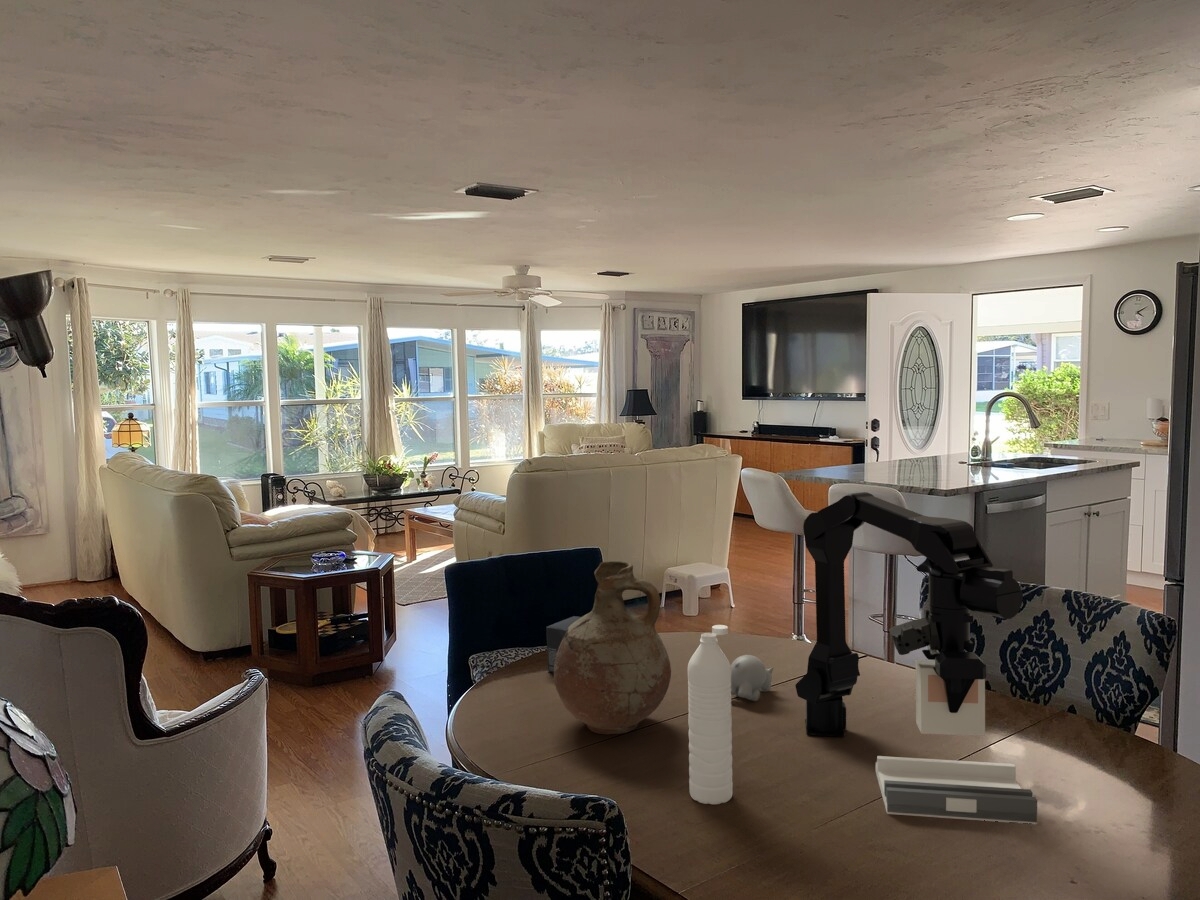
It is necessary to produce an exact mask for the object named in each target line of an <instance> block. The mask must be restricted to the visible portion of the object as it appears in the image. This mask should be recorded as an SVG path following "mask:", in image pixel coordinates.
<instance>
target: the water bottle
mask: <svg viewBox="0 0 1200 900" xmlns="http://www.w3.org/2000/svg"><path fill="white" fill-rule="evenodd" d="M724 635H729V627H728V626H727V625H724V624H715V625H712V626H711V632H704V633H703V632H702V633H701V636H700V639H699V641H700V644H699V646H698V647H697V648H696V650H695V652H694V653H693V654H692V656H691V657H690V659H689V661H688V664H687V680H688V681H687V686H688V687H687V691H688V693H687V696H688V699H687V700H688V702H687V706H688V710H687V711H688V714H687V715H688V717H687V718H688V719H687V720H688V721H687V722H688V728H689V729H688V740H689V742H688V751H689V754H688V763H689V766H688V775H689V779H688V783H689V784H688V785H689V795H690V797H691V799H693V800H694V801H697V802H698V803H700V804H704V805H708V804H709V805H720V804H725V803H727V802H728V801H730V800H731V799H732V797H733V785H734V784H733V766H732V765H733V755H732V752H733V744H732V740H733V733H732V732H733V731H732V727H733V721H732V720H733V719H732V695H731V665H732V664H731V663H730V660H729V659H728V657H727V656H726V654H725V653H724V651H723V650H722V649H721V647H720V646H719V644H718V641H719V640H718V638H717V637H718V636H724Z"/></svg>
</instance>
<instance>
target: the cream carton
mask: <svg viewBox="0 0 1200 900" xmlns="http://www.w3.org/2000/svg"><path fill="white" fill-rule="evenodd" d="M933 667H935V660H928V659H925V658H924V659H920V658H919V659H917V658H916V659H915V723H916V726H917V727H918V729H919V732H920V734H921V735H923V734H925V735H946V736H965V737H966V736H969V737H971V736H972V737H974V736H975V737H986V679H975V681H974V683H973V684H972V686H971V688H970V690H969V691H968V693H967V695H966V697H965V699H964V701H963V703H962V705H961V706H960V708H959V710H958V712H957V713H950V712H949V708H948V703H947V698H946V692H945V687H944V681H943V679H942V678H941V677H940V676H938V675H937V674H936V672H935V671H934V669H933Z"/></svg>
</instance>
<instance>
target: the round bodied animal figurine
mask: <svg viewBox="0 0 1200 900" xmlns="http://www.w3.org/2000/svg"><path fill="white" fill-rule="evenodd" d="M730 665H731V696H736V697H739V698H741V699H742V698H744V699H747V700H749V701H752V702H758V701H759V700H760V692H763V693H766V692H769V691H770V690H771V688H772V681H773V674H772V673H773V671H774V667H772V666H771V667H770V668H766V667H765V664H764V663H763V662H762V660H761V659H760V658H759V657H757V656H755V655H751V654H743V655H740V656H738V657H736V658H735V659H734V660H733V661H732V663H731V664H730Z"/></svg>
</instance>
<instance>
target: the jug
mask: <svg viewBox="0 0 1200 900" xmlns="http://www.w3.org/2000/svg"><path fill="white" fill-rule="evenodd" d="M593 573H594V577H595V581H596V583H597V588H596V592H595V594H594V603H593V607H592V609H591V611H590V612H587V613H586V614H584V615H582V616H580V617H581V618H580V619H578V620H577V621H575V622H574V623H573V624H571V625H570V626H569V627H568V628H567V631H566V634H565V636H564V638H563V640H562V642H561V644H560V646H559V649H558V652H557V655H556V659H555V664H554V673H553V679H554V680H553V681H554V687H555V690H556V692H557V694H558V696H559V698H560V701H561V702H562V704H563V705H564V707H565V708H566V710H567V711H568V712H569V713H570V715H572V716H573V717H574V718H575V719H576V720H579V721H580V722H581V723H583V724H585V725H586V727H587V728H588V729H589V731H591V732H594V733H595V734H599V735H600V734H601V735H623V734H626V733H629V732H632V731H634V730H635V729H636V728H637V727H638V725H639V723H640V722H643V720H645V719H646V718H648V717H650V716H651V715H652V714H653V712H655V711H656V710H657V709H658V707H659V706H660V705H661V703H662V701H664V698H665V697H666V694H667V692H668V689H669V687H670V683H671V676H672V668H671V661H670V658H669V654H668V651H667V648H666V647H665V644H664V643H663V639H662V638H661V636H660V634H659V633H658V632H657V629H656V627H655V626H656V623H657V620H658V618H659V614H660V610H661V609H660V608H661V597H660V594H659V590H658V589H657V588H656V586H655V585H653V584H652V582H650V581H649V580H647V579H644V578H636V577H635V576H634V566H633V564H632V563H631V562H628V561H623V560H610V561H609V560H607V561H601V562H600V563H599V565H598V567H597V568H596V569H595V570H594V572H593ZM627 590H629V591H631V590H632V591H640V592H642V593H643V594H645V596H646V599H647V606H646V609H645V611H644V612H643V613H642V614H640V615H639V614H637V613H635V612H633V611H632V610H629V609H628V608H627V607H626V605H625V603H624V598H623V593H624V592H625V591H627Z"/></svg>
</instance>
